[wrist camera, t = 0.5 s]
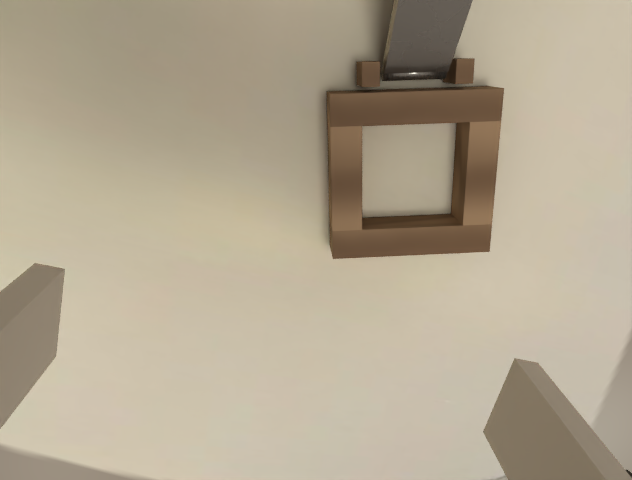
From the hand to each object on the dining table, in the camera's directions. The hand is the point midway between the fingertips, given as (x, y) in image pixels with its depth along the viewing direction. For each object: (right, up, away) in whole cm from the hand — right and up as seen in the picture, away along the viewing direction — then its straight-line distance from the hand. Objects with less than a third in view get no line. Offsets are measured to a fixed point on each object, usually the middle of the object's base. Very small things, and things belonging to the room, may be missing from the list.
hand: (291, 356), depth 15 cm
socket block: (+8, +10, +25) cm, 28 cm away
